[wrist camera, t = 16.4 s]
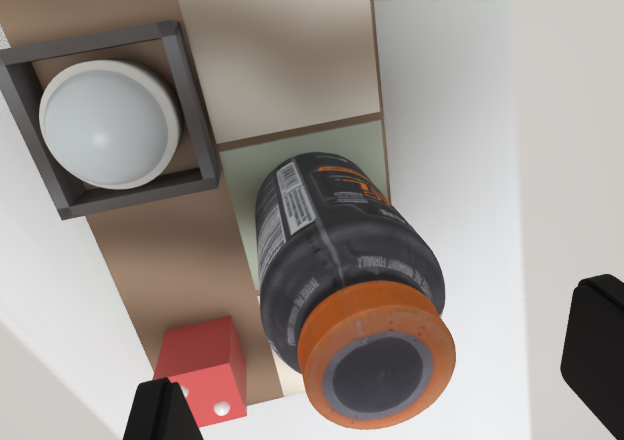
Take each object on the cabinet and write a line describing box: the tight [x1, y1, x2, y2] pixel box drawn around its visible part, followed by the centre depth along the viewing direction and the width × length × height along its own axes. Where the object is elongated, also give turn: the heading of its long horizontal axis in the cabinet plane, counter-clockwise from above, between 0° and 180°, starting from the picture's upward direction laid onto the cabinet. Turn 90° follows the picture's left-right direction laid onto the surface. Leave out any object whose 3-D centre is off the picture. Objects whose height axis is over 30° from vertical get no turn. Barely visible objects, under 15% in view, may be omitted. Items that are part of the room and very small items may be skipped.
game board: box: [0, 0, 391, 406], centre depth 20 cm, size 24×14×3 cm, turn 9°
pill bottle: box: [255, 152, 456, 430], centre depth 15 cm, size 6×6×11 cm
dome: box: [39, 58, 184, 189], centre depth 16 cm, size 5×5×4 cm
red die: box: [153, 316, 247, 428], centre depth 21 cm, size 4×4×4 cm
